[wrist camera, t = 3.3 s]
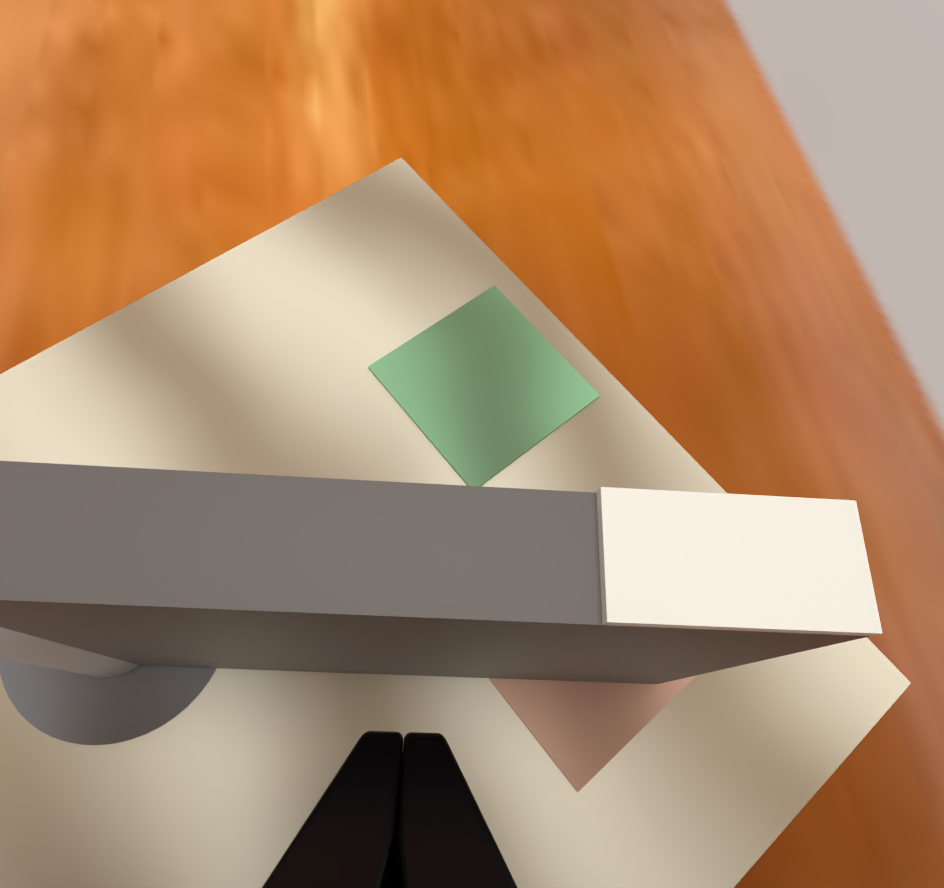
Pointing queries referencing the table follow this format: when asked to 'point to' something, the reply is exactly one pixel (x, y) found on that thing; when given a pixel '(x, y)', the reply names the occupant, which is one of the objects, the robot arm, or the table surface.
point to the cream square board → (384, 695)
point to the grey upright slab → (416, 576)
